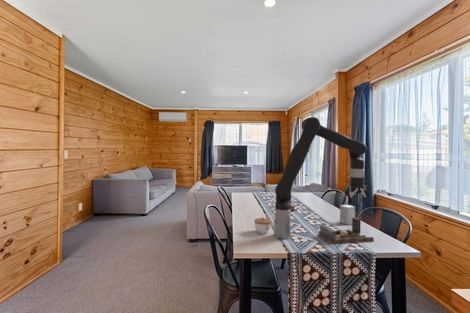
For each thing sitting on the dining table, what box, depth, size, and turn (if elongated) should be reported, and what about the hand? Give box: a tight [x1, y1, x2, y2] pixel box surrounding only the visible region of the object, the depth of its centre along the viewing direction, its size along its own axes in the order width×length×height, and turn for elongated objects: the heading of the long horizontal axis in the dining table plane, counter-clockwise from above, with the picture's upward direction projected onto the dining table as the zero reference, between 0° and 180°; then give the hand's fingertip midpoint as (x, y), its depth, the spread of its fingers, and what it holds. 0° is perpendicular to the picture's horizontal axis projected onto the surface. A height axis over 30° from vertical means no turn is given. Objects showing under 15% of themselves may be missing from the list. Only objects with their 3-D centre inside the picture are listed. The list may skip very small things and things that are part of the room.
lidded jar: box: [254, 217, 272, 235], centre depth 152 cm, size 11×11×9 cm
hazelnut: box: [340, 231, 348, 238], centre depth 140 cm, size 4×4×4 cm
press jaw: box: [346, 217, 367, 238], centre depth 141 cm, size 4×11×11 cm, turn 9°
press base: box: [318, 224, 375, 244], centre depth 140 cm, size 26×14×8 cm, turn 100°
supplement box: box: [339, 204, 356, 225], centre depth 174 cm, size 7×7×13 cm
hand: (356, 203), depth 141 cm, fingers open, 8 cm apart
